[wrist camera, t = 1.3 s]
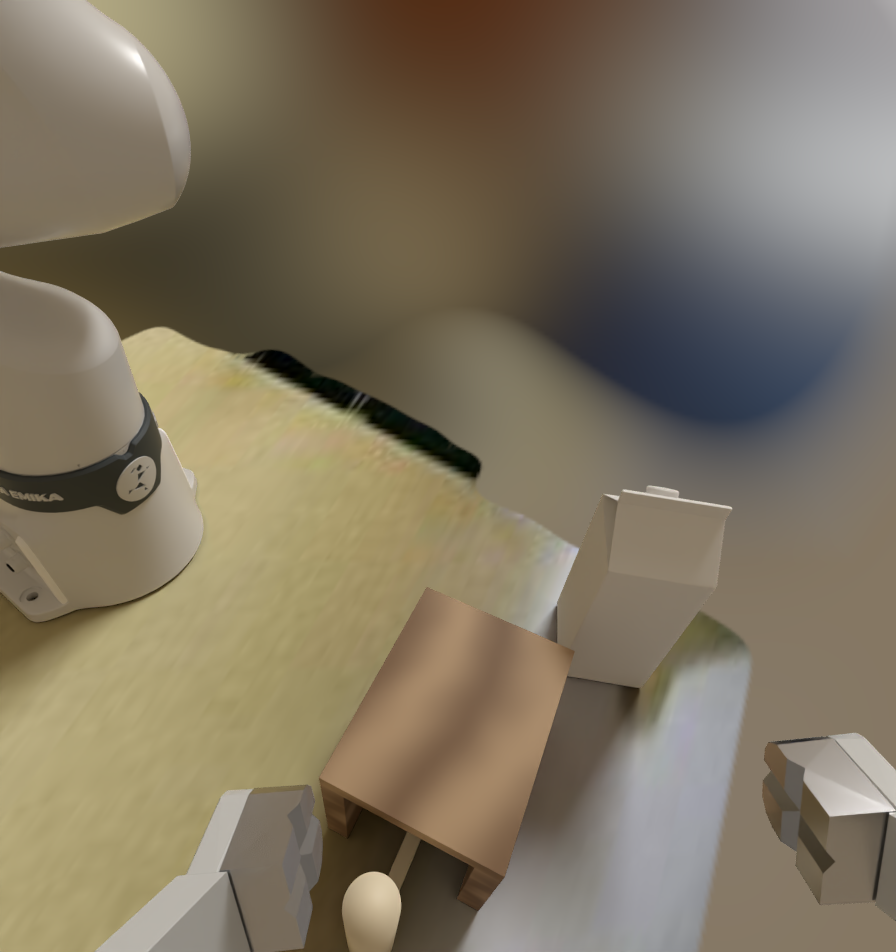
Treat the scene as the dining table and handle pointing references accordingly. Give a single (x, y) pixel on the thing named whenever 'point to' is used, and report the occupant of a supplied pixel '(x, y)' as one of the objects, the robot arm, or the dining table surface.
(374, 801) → the walnut cubby
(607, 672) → the milk carton
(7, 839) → the dining table surface
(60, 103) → the robot arm
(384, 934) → the cream rounded block
